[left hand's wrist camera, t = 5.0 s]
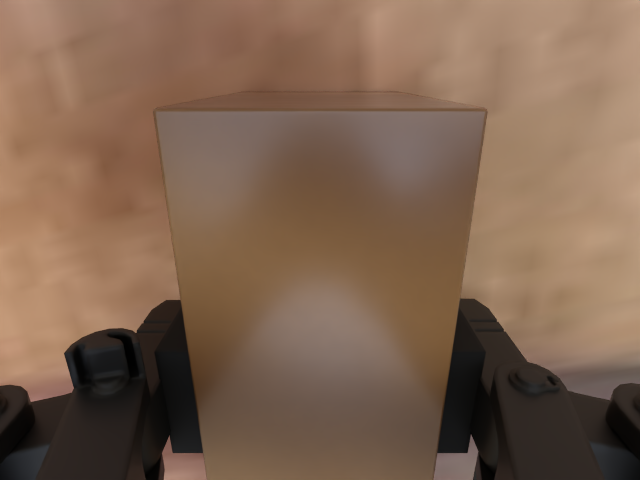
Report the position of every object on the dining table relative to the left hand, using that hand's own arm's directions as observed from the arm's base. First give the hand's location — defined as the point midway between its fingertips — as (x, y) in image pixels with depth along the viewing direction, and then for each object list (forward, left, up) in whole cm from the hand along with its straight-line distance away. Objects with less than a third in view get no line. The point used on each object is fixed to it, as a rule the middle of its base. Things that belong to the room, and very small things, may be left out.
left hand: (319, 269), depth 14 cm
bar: (-29, +6, -1) cm, 30 cm away
